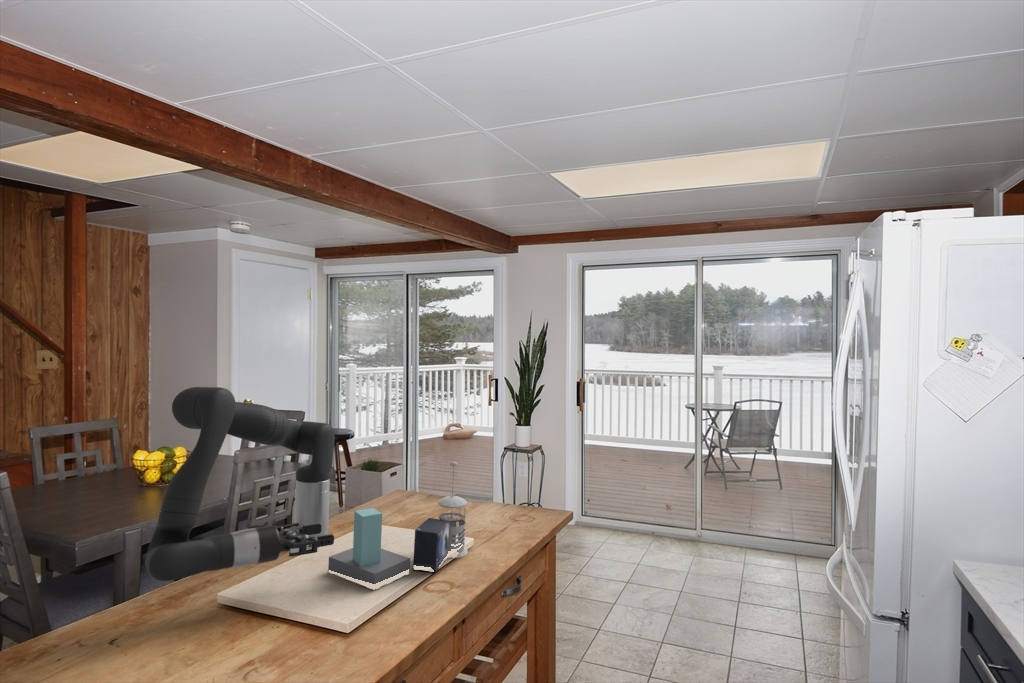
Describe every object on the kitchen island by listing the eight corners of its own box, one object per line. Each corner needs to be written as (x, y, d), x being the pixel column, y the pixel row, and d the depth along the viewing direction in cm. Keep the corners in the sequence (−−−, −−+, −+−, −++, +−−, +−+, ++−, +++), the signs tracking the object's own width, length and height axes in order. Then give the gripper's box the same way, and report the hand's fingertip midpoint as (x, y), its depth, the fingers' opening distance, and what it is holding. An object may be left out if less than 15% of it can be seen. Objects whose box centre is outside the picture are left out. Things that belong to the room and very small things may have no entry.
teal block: (352, 559, 146) (354, 510, 145) (371, 555, 149) (373, 507, 148) (360, 566, 142) (362, 516, 141) (380, 562, 145) (382, 513, 144)
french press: (425, 554, 161) (429, 462, 161) (446, 540, 172) (449, 454, 172) (458, 560, 158) (461, 467, 157) (476, 546, 168) (480, 459, 168)
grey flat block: (328, 572, 147) (328, 556, 147) (364, 558, 157) (365, 543, 157) (374, 590, 138) (374, 573, 138) (409, 574, 148) (410, 558, 148)
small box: (436, 574, 149) (438, 532, 149) (411, 571, 150) (413, 529, 150) (449, 558, 159) (450, 519, 159) (426, 555, 160) (427, 517, 160)
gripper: (262, 539, 123) (338, 526, 133) (246, 519, 135) (317, 509, 144) (261, 574, 123) (337, 559, 133) (245, 552, 135) (316, 539, 145)
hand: (327, 533), depth 139 cm, fingers open, 8 cm apart
